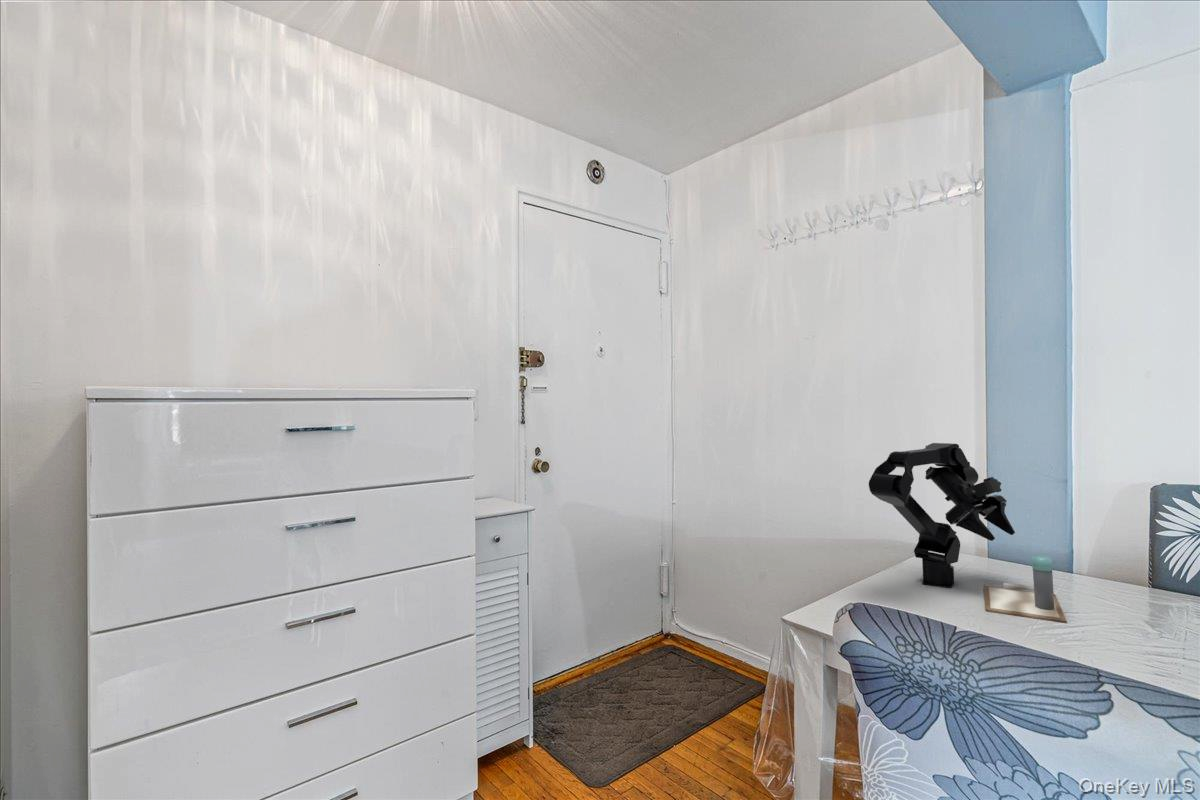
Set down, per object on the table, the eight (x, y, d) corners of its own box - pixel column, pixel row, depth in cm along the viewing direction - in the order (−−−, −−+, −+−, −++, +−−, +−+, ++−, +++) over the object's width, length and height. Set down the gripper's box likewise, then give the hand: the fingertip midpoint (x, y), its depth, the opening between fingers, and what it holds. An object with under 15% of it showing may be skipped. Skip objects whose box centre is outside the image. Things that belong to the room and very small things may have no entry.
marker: (1035, 608, 122) (1032, 558, 122) (1034, 603, 124) (1031, 555, 125) (1055, 611, 120) (1052, 560, 120) (1054, 606, 122) (1051, 556, 123)
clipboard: (985, 611, 122) (985, 603, 122) (983, 586, 139) (983, 580, 139) (1066, 623, 114) (1066, 615, 114) (1055, 595, 131) (1054, 588, 131)
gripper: (955, 471, 135) (1008, 523, 125) (996, 464, 144) (1048, 512, 134) (925, 499, 142) (973, 550, 132) (966, 490, 151) (1014, 538, 141)
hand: (1003, 536), depth 135 cm, fingers open, 9 cm apart
